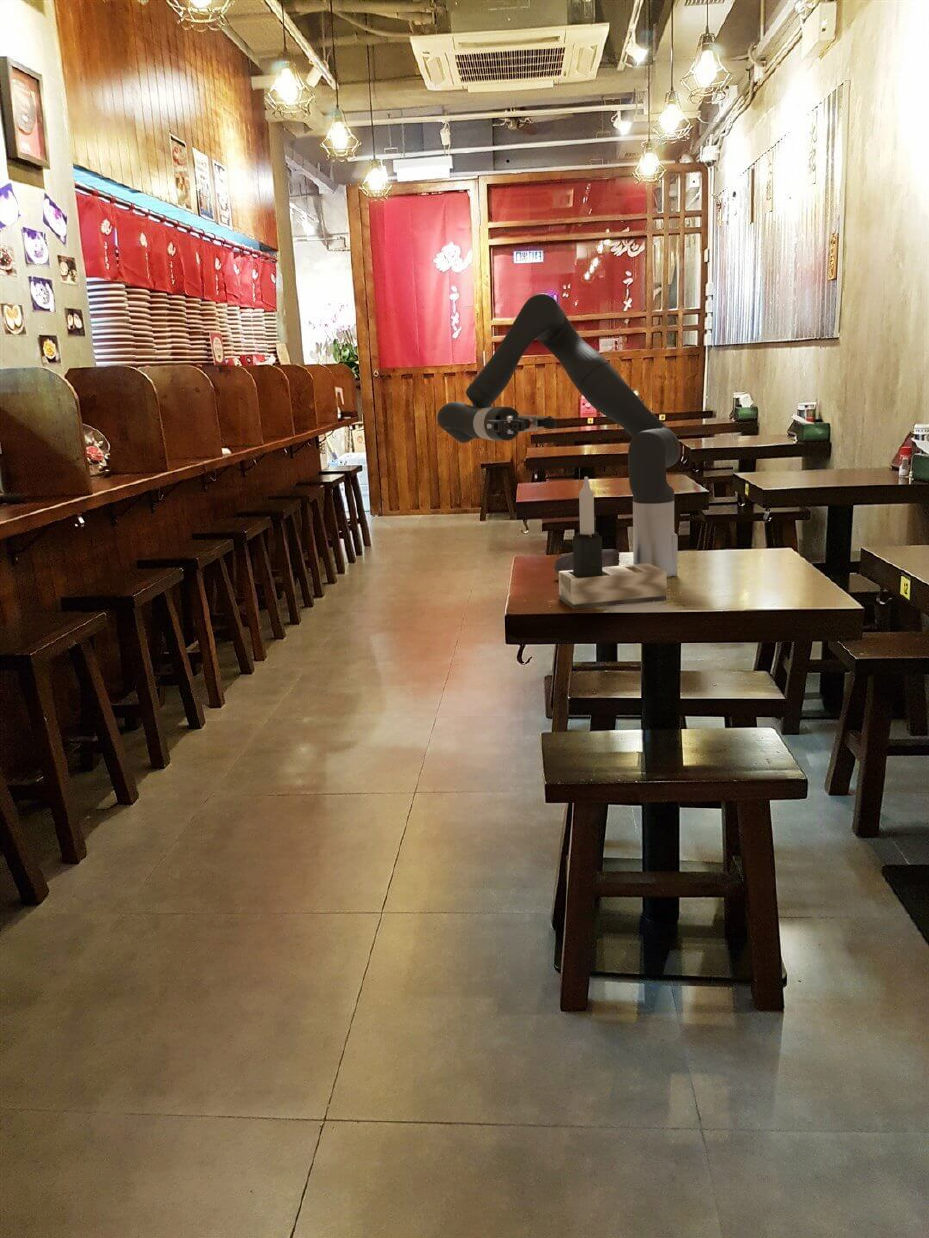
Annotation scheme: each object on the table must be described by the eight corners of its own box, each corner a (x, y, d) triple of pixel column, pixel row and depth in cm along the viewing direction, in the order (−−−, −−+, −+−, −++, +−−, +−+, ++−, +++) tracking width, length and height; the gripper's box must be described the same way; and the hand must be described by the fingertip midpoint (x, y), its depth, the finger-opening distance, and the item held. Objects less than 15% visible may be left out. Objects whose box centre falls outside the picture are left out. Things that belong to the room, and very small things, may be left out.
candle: (581, 600, 198) (579, 478, 192) (572, 595, 203) (569, 476, 197) (604, 598, 199) (603, 476, 193) (594, 593, 204) (592, 474, 198)
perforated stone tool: (552, 581, 223) (551, 551, 221) (556, 576, 228) (555, 547, 226) (618, 581, 219) (617, 551, 217) (620, 576, 224) (620, 547, 222)
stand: (648, 590, 209) (648, 563, 207) (666, 600, 199) (666, 571, 198) (559, 598, 205) (558, 571, 204) (573, 609, 195) (573, 580, 194)
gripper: (469, 408, 215) (511, 408, 201) (521, 404, 222) (565, 404, 208) (471, 442, 216) (513, 445, 203) (522, 438, 224) (566, 440, 210)
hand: (539, 424), depth 206 cm, fingers open, 8 cm apart
